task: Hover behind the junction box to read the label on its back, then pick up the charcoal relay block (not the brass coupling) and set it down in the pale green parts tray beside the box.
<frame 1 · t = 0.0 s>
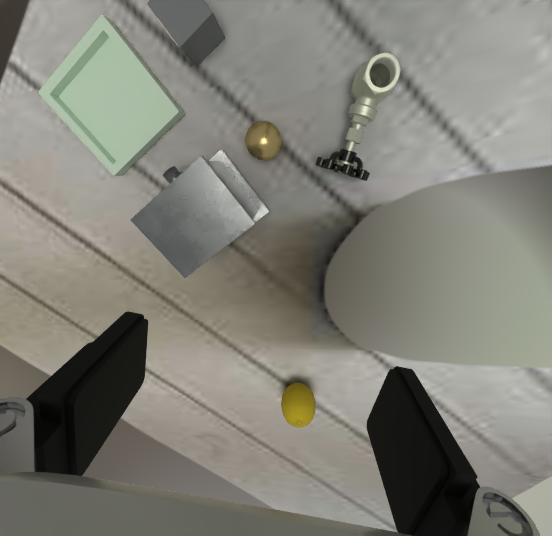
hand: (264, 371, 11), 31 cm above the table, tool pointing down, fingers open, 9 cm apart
relay block: (198, 34, 33), on the table
valve: (353, 124, 36), on the table
lemon: (297, 384, 50), on the table
brass coupling: (266, 143, 37), on the table
tray: (117, 105, 36), on the table
junction box: (213, 208, 40), on the table
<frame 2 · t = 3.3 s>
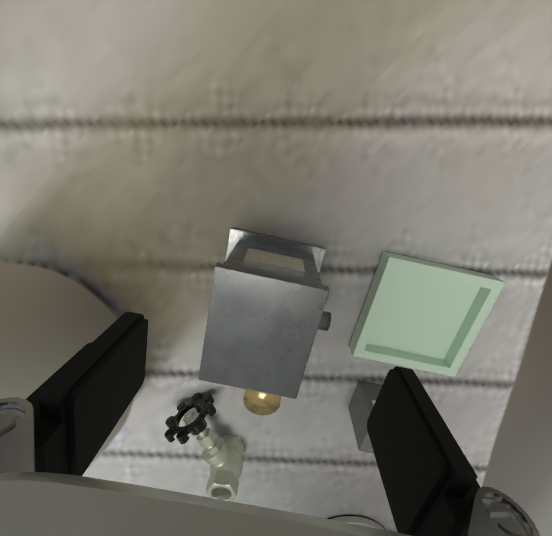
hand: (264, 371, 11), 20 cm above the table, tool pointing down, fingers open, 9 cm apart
relay block: (370, 397, 37), on the table
valve: (218, 423, 40), on the table
brass coupling: (265, 370, 36), on the table
tray: (416, 312, 32), on the table
junction box: (267, 288, 32), on the table
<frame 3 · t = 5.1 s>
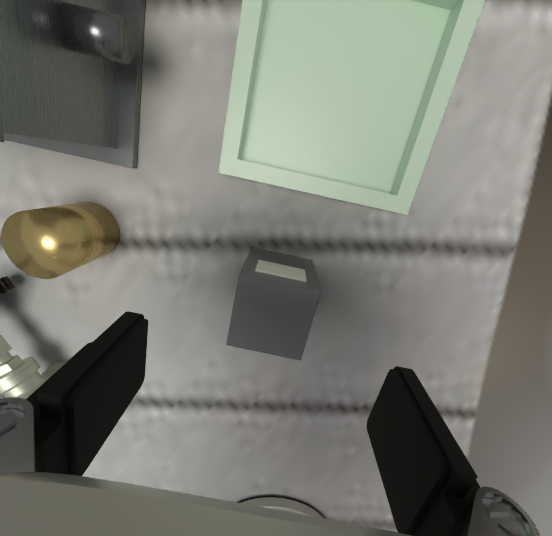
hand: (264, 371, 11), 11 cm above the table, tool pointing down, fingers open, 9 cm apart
relay block: (275, 281, 22), on the table
valve: (45, 341, 25), on the table
brass coupling: (93, 229, 21), on the table
tray: (335, 94, 18), on the table
junction box: (61, 48, 17), on the table
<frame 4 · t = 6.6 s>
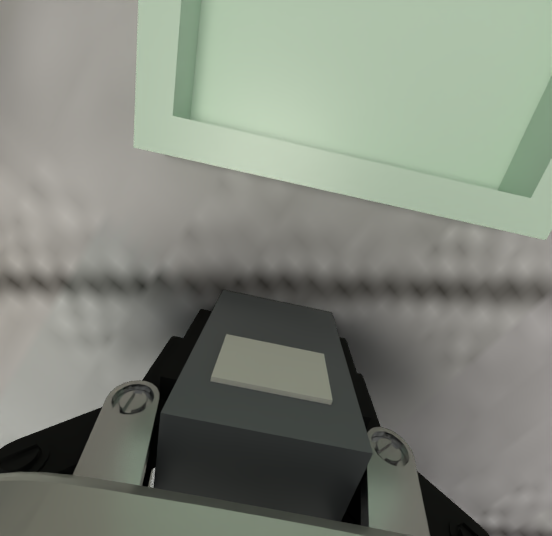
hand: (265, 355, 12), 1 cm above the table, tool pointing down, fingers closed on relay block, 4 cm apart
relay block: (266, 346, 12), on the table, touching gripper
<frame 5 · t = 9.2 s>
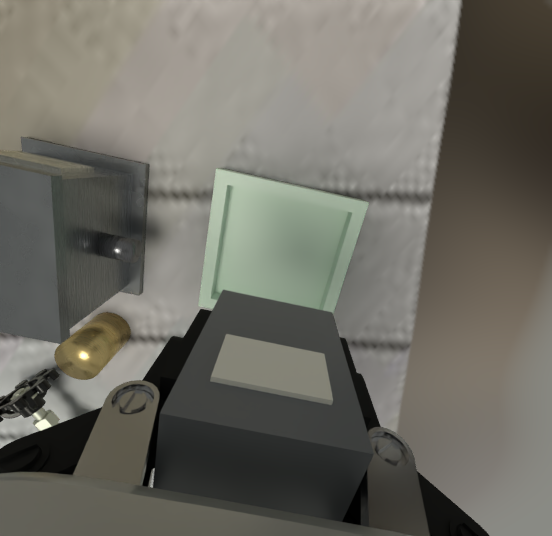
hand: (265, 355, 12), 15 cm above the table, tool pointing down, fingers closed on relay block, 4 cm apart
relay block: (267, 346, 12), point 14 cm above the table, touching gripper
valve: (79, 406, 34), on the table
brass coupling: (111, 329, 29), on the table
tray: (277, 251, 26), on the table
junction box: (89, 221, 25), on the table
when the fingers open (3 cm above the table, at t = 11.7 s): relay block drops 2 cm, resting on tray.
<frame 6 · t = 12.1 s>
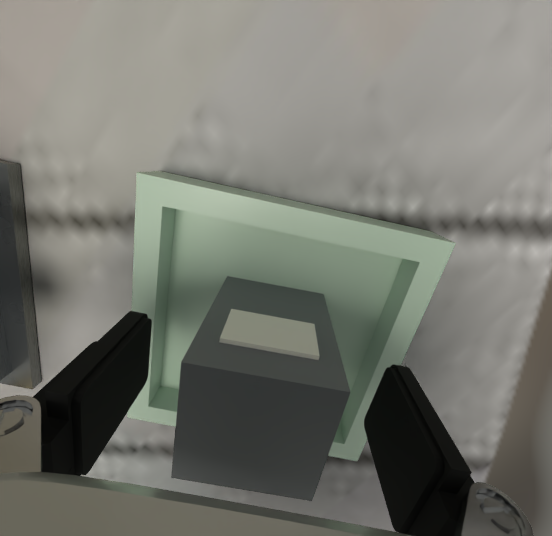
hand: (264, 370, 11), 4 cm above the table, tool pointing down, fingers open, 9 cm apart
relay block: (267, 326, 14), point 1 cm above the table, touching tray
tray: (269, 319, 14), on the table
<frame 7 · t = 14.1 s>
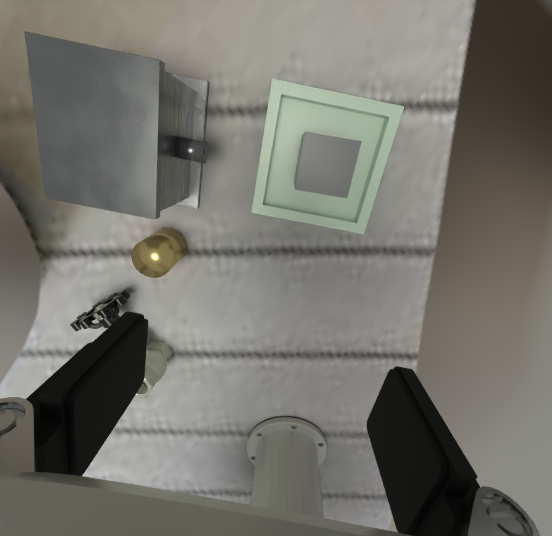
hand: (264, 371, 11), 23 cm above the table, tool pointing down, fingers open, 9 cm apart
relay block: (319, 163, 29), point 1 cm above the table, touching tray
valve: (143, 328, 38), on the table
brass coupling: (170, 244, 33), on the table
tray: (319, 162, 29), on the table
junction box: (155, 140, 29), on the table
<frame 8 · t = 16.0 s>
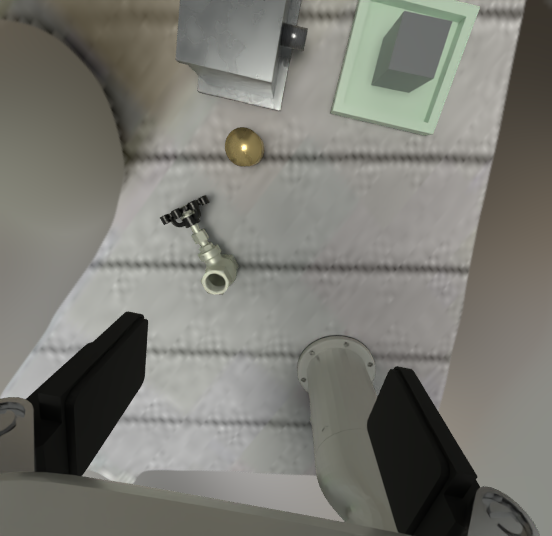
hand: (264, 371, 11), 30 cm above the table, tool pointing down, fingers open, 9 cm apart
relay block: (396, 66, 32), point 1 cm above the table, touching tray
valve: (213, 241, 41), on the table
brass coupling: (248, 149, 36), on the table
tray: (395, 67, 33), on the table
junction box: (248, 42, 32), on the table
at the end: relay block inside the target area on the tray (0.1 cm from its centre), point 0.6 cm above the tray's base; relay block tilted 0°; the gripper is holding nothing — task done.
